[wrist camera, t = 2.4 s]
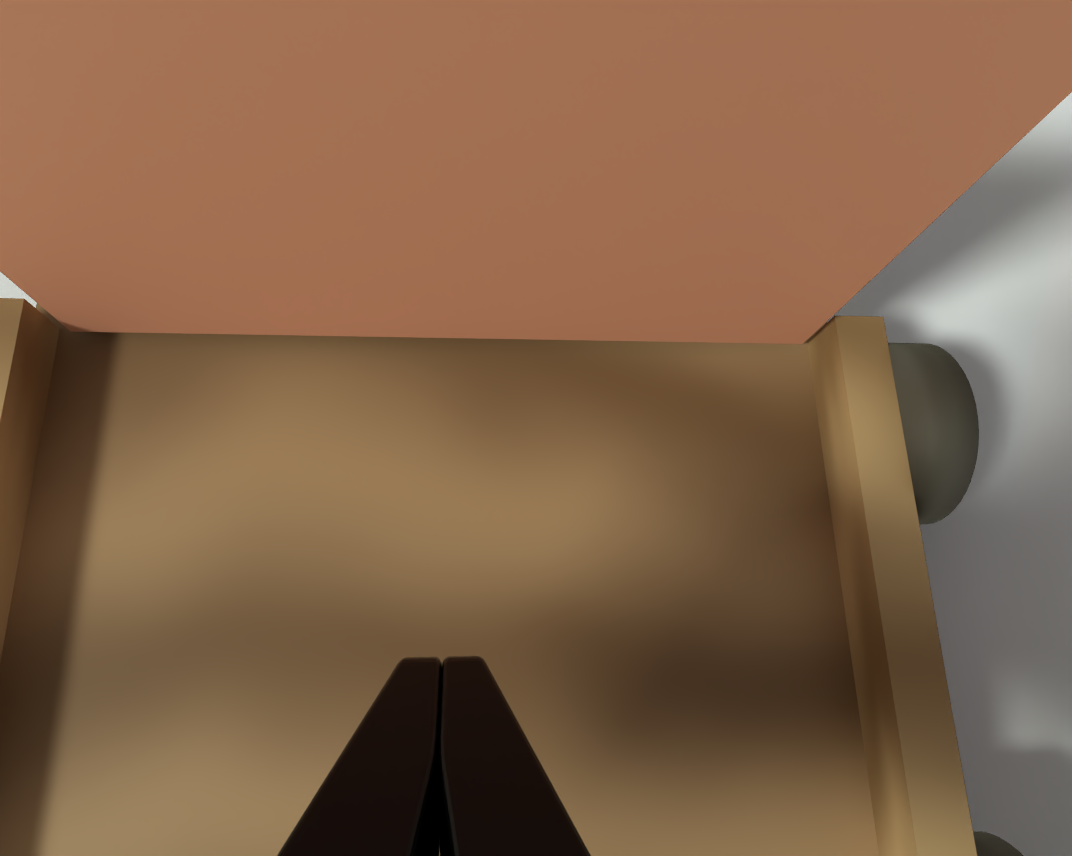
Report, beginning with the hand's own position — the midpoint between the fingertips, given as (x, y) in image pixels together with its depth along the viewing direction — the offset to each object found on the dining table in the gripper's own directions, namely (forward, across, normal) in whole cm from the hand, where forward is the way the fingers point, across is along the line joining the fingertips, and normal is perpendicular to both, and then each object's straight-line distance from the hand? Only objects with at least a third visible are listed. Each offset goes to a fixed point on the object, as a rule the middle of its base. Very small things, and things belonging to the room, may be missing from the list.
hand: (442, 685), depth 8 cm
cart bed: (+7, 0, +8) cm, 11 cm away
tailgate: (+12, 0, 0) cm, 12 cm away
